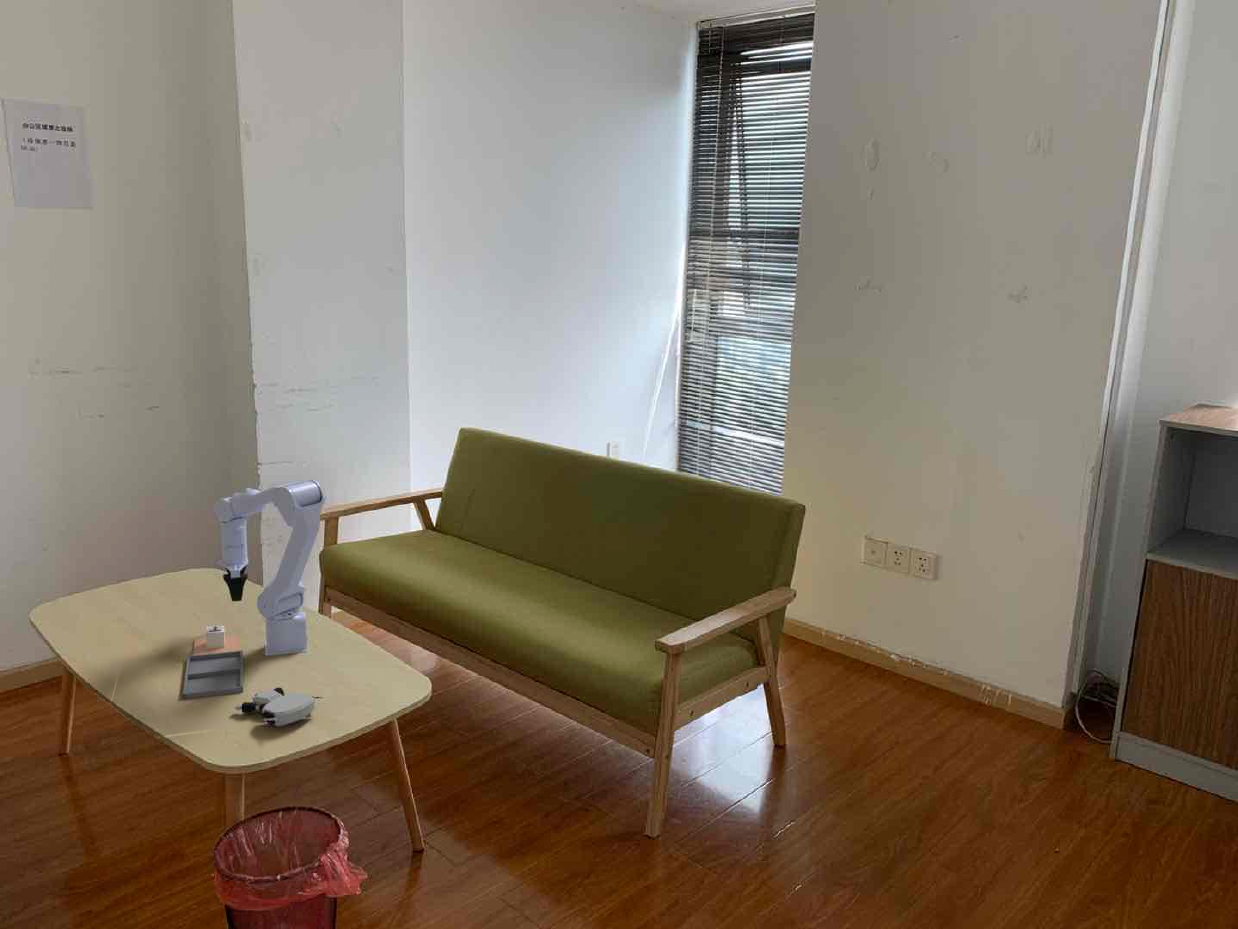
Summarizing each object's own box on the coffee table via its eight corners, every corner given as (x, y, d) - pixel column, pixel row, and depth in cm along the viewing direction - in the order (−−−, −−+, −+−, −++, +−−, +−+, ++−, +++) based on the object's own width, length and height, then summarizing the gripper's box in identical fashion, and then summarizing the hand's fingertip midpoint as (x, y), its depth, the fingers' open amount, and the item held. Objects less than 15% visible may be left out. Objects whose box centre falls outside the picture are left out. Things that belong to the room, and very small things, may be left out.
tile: (238, 636, 237) (238, 634, 237) (238, 653, 228) (238, 650, 228) (195, 641, 233) (194, 638, 233) (193, 657, 224) (192, 655, 224)
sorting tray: (242, 656, 226) (242, 650, 226) (243, 693, 208) (242, 687, 208) (188, 661, 222) (187, 655, 222) (183, 700, 204) (182, 694, 204)
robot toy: (231, 720, 199) (279, 737, 191) (229, 700, 198) (277, 716, 190) (280, 698, 209) (326, 714, 201) (278, 679, 208) (325, 694, 200)
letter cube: (225, 640, 233) (224, 625, 232) (224, 647, 229) (223, 631, 228) (207, 642, 232) (206, 626, 231) (206, 648, 228) (205, 633, 227)
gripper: (217, 535, 239) (220, 586, 242) (216, 554, 226) (218, 607, 229) (247, 534, 242) (249, 584, 245) (247, 551, 229) (250, 604, 232)
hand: (236, 595), depth 237 cm, fingers open, 7 cm apart
